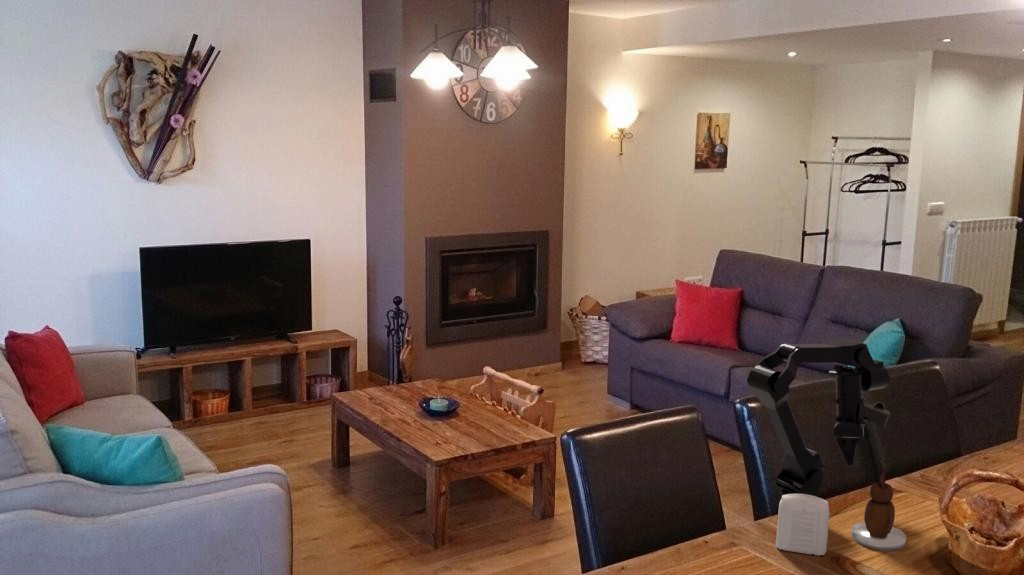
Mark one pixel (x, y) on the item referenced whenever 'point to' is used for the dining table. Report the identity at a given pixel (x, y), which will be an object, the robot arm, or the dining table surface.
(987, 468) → the dining table surface
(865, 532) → the plate
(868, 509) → the wooden figurine
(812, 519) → the white upright block
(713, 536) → the dining table surface
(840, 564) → the dining table surface
